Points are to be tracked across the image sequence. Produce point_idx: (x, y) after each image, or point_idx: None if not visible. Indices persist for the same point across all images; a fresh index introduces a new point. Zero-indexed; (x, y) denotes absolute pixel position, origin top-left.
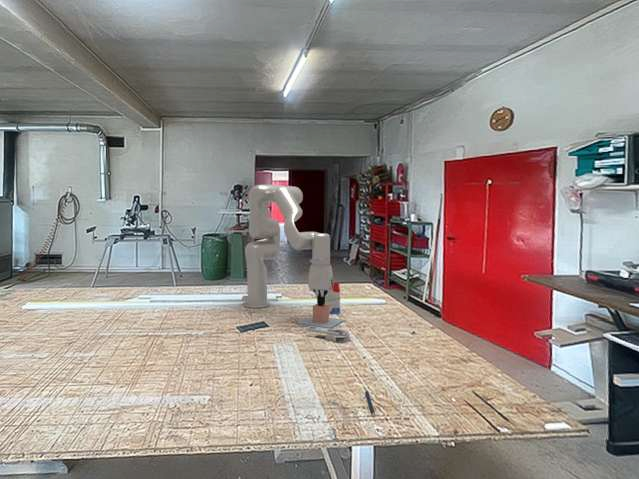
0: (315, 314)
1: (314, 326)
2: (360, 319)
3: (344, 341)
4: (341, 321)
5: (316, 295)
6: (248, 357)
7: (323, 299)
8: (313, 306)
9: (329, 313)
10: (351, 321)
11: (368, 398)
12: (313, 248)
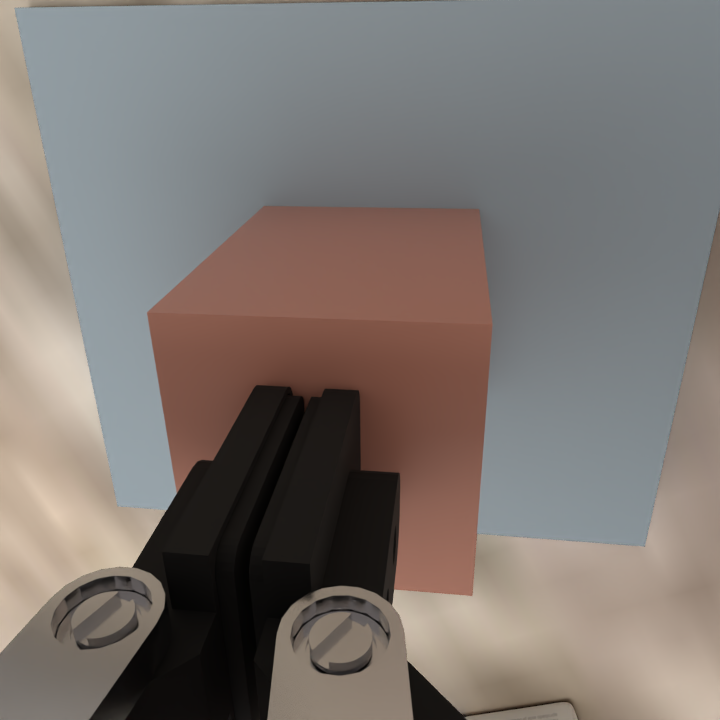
0: (409, 249)
1: None
2: (23, 612)
3: None
4: (99, 416)
5: (383, 620)
6: None
7: (157, 538)
8: (460, 316)
9: (468, 716)
10: (50, 510)
11: None
12: None
